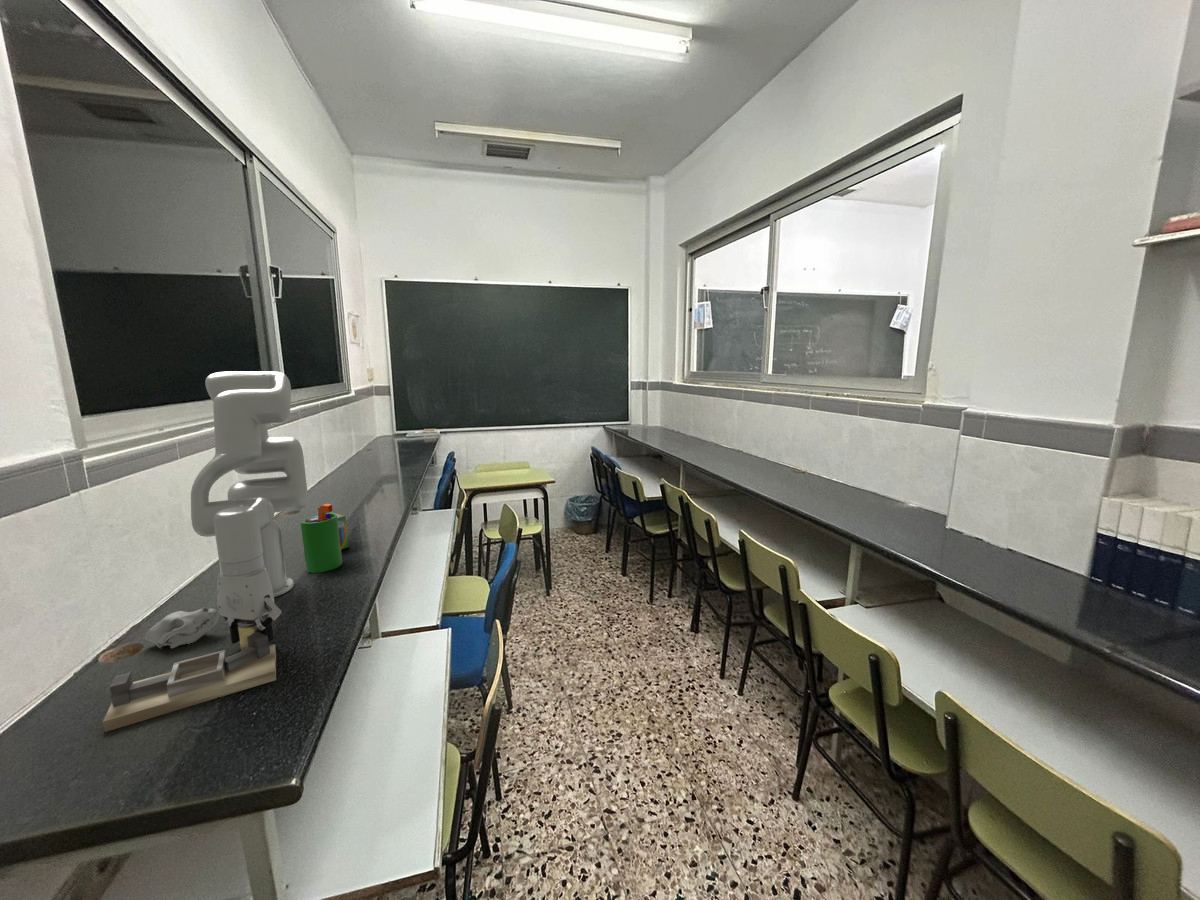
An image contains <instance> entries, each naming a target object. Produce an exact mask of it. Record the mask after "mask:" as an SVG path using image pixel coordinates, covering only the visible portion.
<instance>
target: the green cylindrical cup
mask: <svg viewBox="0 0 1200 900" xmlns="http://www.w3.org/2000/svg"><path fill="white" fill-rule="evenodd" d="M318 508H319V511H318V510H317V511H318V513H317V514H318V519H316V520H312V521H309V522H307V523H306V522H304V521H302V522H300V527H301V529H300V530H301V537H302V546H303V551H304V552H303V553H304V561H305V568H306V573H309V572H311V574H317V573H318V574H319V573H324V572H329V571H332V570H335V569H337V568H339V567H340V566H342V564H343V557H342V550H341V546H340V537H339V528H338V519H337V514H338V513H336V514H334V513H335V512H333V510H334V509H333V504H331V503H324V504H322V505H320V506H319V507H318ZM326 512H327V513H326ZM331 512H332V513H331Z"/></svg>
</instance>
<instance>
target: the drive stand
mask: <svg viewBox="0 0 1200 900" xmlns="http://www.w3.org/2000/svg"><path fill="white" fill-rule="evenodd" d="M247 640H248V648H246V649H244V650H242V651H241V650H240V651H238V652H236V653H234V654H232V655H229V656H227V654H226V653H227V651H226V649H223V650H218V651H214V652H210V653H207V654H202V655H201V656H199V655H198V656H196V657H191V658H188V659H184V660H180V661H177V662H174V663H173V665H172V669H171V671H170V672H165V673H163V674H159V675H154V676H151V677H147V678H143V679H140V680H135V681H133V676H132V672H131V671H129V672H126V673H122V674H117V675H115V676H114V678H113V680H112V682H111V684H110V686H109V689H110V699H111V703H110V706H109V707H108V710H107V712H106V714H105V716H104V717H103V720H102V726H103V731H104V733H106V732H110V731H113V730H117V729H120V728H124V727H126V726H129V725H133V724H136V723H139V722H143V721H146V720H149V719H153V718H156V717H159V716H163V715H165V714H169V713H172V712H176V711H178V710H179V711H180V710H183V709H185V708H189V707H192V706H196V705H198V704H201V703H205V702H209V701H212V700H215V699H218V697H219V698H222V697H225V696H228V695H232V694H235V693H238V692H242V691H244V690H248V689H251V688H254V687H258V686H261V685H265V684H267V683H271V682H274V681H276V680H277V650H276V644H275V643H274V644H271V645H270V642H268V636H266V635H264V634H261V633H259V632H256V633H254V634H252V635H250V636H247Z"/></svg>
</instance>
